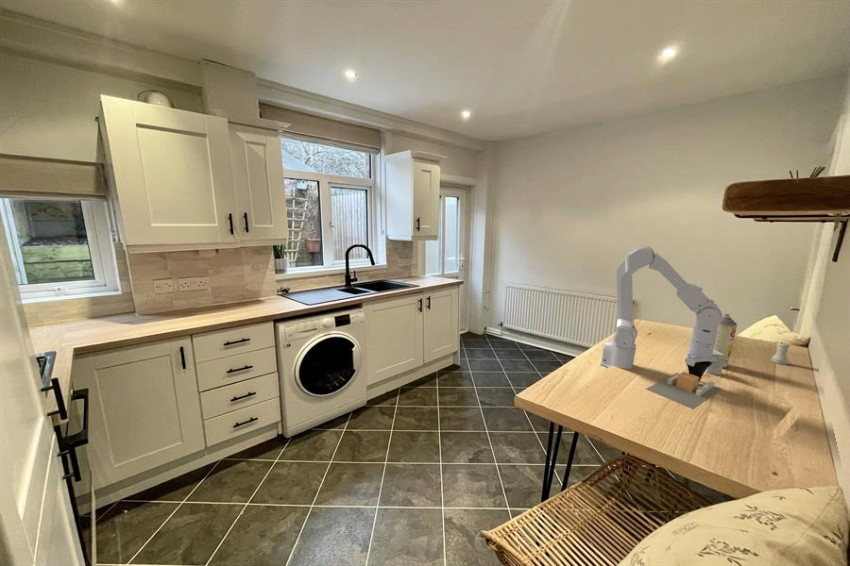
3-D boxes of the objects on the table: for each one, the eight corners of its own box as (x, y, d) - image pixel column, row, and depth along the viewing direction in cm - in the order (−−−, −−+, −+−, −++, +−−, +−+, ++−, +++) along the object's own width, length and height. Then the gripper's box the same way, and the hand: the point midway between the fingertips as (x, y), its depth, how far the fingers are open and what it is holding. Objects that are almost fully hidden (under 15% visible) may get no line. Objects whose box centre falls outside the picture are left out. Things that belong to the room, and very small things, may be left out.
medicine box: (720, 378, 109) (726, 355, 107) (705, 377, 110) (710, 354, 108) (705, 368, 116) (710, 346, 115) (691, 367, 117) (696, 345, 115)
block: (675, 386, 100) (678, 374, 99) (681, 383, 102) (683, 371, 101) (691, 392, 97) (693, 380, 96) (696, 388, 99) (699, 377, 98)
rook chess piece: (775, 363, 122) (780, 344, 120) (768, 359, 126) (773, 340, 124) (790, 365, 120) (796, 346, 118) (783, 361, 124) (788, 342, 122)
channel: (644, 393, 98) (646, 384, 98) (676, 376, 110) (677, 368, 109) (691, 413, 88) (694, 404, 88) (721, 392, 100) (723, 384, 99)
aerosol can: (727, 370, 115) (740, 317, 111) (702, 364, 120) (714, 313, 115) (726, 364, 120) (738, 313, 116) (703, 358, 125) (713, 309, 121)
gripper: (710, 350, 92) (700, 392, 95) (727, 341, 100) (718, 380, 103) (681, 342, 98) (673, 382, 101) (699, 334, 106) (691, 371, 108)
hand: (694, 381), depth 102 cm, fingers closed
